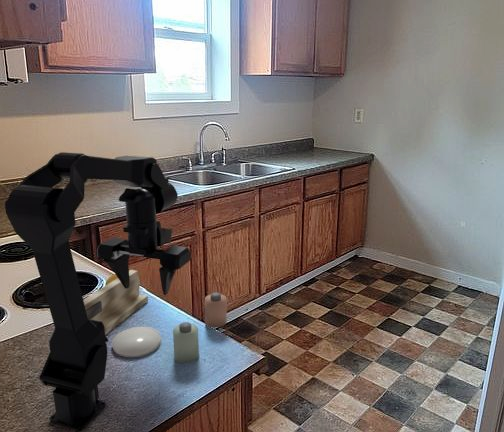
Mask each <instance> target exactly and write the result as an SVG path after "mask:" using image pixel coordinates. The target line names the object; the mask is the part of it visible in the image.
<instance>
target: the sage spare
mask: <svg viewBox="0 0 504 432" xmlns="http://www.w3.org/2000/svg"><path fill="white" fill-rule="evenodd" d="M172 339H173V354H174V355H173V359H175V361H176V362H178V363H180V364H188V363H192V362H195V361H196V360H198V358H200V357H199V356H200V346H199V342H200V341H199V327H198V326H197V325H196V324H195V323H191V322H187V321H185V322H181V323H180V324H177V325H175V326H174V327H173V329H172Z"/></svg>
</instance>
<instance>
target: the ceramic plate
mask: <svg viewBox="0 0 504 432" xmlns="http://www.w3.org/2000/svg"><path fill="white" fill-rule="evenodd" d="M161 337H162V336H161V333H160V331H158V330H157V329H155V328H153V327H149V326H134V327H131V328H127V329H124V330H122V331H120V332H119V333H117V334H116V335H115V336H114V338H113V339H112V342H111V343H112V345H111V346H112V350H113V352H114V353H115V354H116V355H118V356H121V357H124V358H138V357H144V356H146V355H147V356H148V355H149V354H151V353H153V352H154V351H155V350H157V349H158V348H159V347H160V345H161V343H162V339H161Z"/></svg>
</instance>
